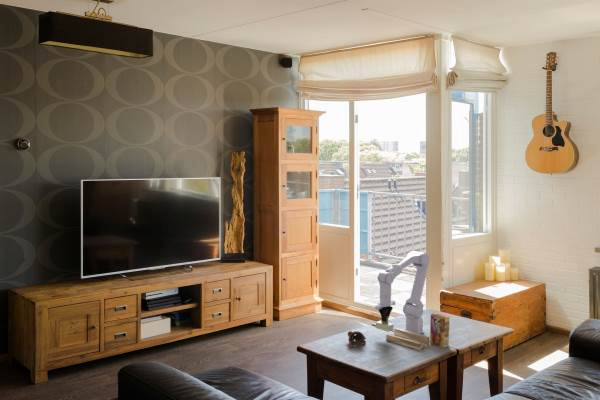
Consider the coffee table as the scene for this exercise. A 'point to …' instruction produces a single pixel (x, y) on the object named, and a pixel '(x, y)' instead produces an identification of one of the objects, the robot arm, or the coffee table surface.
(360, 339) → the pottery mug
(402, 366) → the coffee table surface
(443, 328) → the candy box
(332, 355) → the coffee table surface
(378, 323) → the slab with grey handle
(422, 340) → the board
